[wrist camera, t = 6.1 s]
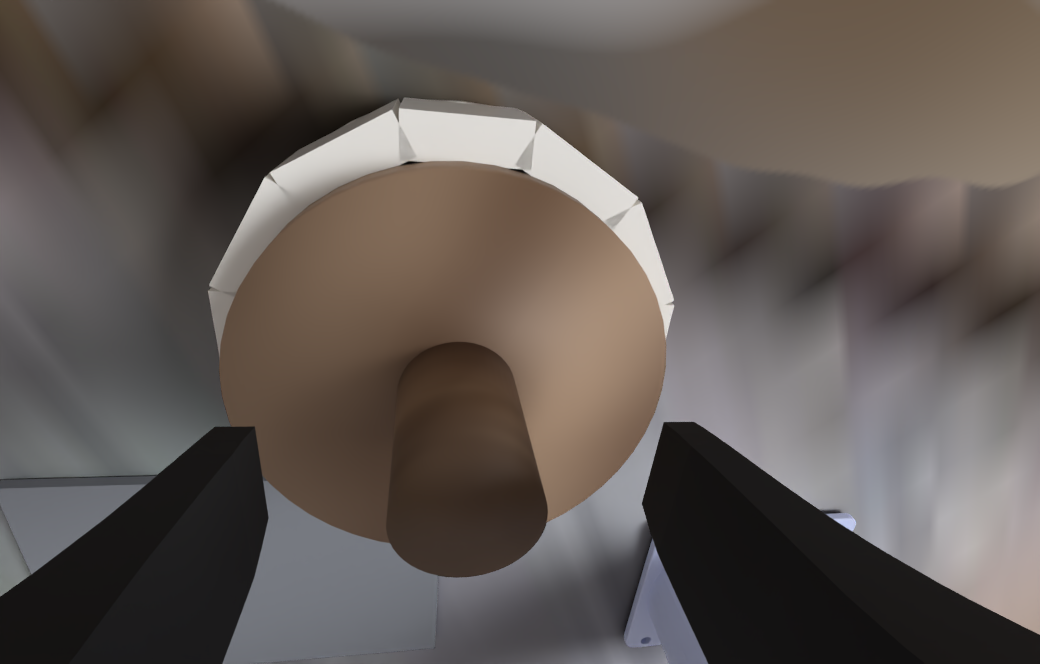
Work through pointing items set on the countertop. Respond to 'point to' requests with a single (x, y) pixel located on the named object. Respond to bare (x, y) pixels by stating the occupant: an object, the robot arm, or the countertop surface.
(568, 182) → the bowl
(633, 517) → the countertop surface
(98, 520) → the mat
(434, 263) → the lid
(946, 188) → the countertop surface
